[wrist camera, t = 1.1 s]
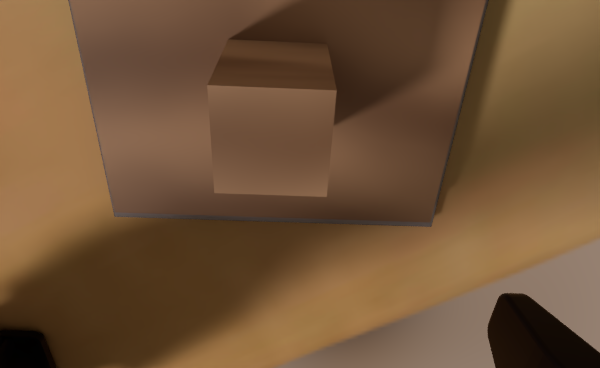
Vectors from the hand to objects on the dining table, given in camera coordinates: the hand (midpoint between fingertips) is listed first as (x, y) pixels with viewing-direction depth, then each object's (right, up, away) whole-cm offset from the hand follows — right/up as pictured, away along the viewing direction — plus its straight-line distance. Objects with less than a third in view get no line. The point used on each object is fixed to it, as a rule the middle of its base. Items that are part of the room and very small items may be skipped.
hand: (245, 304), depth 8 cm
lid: (0, +6, +10) cm, 12 cm away
